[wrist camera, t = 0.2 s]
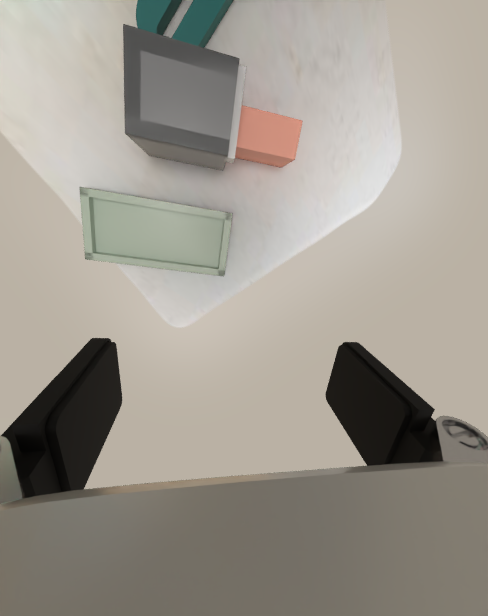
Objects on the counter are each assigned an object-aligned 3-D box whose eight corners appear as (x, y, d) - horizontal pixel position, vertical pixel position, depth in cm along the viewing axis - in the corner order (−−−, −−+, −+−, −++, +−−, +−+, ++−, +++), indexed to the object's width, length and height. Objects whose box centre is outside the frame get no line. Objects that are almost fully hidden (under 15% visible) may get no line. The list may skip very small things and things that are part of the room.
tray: (86, 188, 32) (79, 186, 31) (231, 213, 36) (232, 213, 34) (91, 256, 36) (85, 259, 34) (223, 273, 39) (224, 276, 38)
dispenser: (236, 105, 31) (247, 61, 22) (228, 171, 34) (235, 157, 25) (150, 82, 29) (123, 23, 20) (149, 155, 32) (125, 133, 23)
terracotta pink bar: (169, 107, 30) (161, 84, 25) (287, 135, 33) (302, 120, 28) (168, 144, 32) (160, 130, 26) (281, 167, 35) (294, 159, 29)
